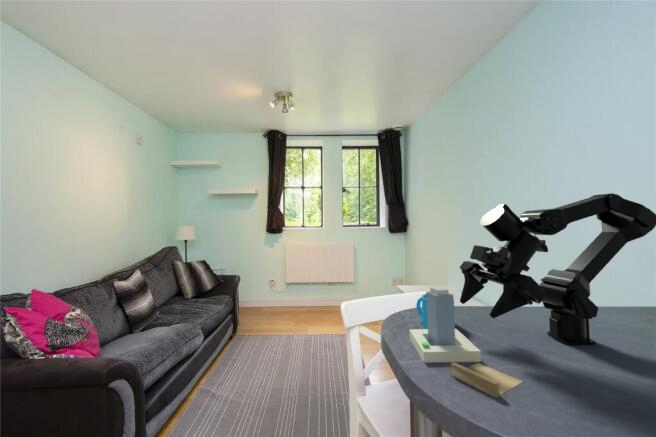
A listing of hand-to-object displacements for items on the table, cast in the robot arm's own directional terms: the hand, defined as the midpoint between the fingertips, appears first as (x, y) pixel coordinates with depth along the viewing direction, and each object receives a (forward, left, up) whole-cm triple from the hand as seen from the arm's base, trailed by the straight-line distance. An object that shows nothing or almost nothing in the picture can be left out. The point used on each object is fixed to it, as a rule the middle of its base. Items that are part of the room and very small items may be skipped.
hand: (475, 309), depth 63 cm
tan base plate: (+5, +13, -9) cm, 17 cm away
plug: (+8, +1, -9) cm, 12 cm away
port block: (+8, +1, -9) cm, 12 cm away
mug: (+5, -16, -9) cm, 19 cm away
